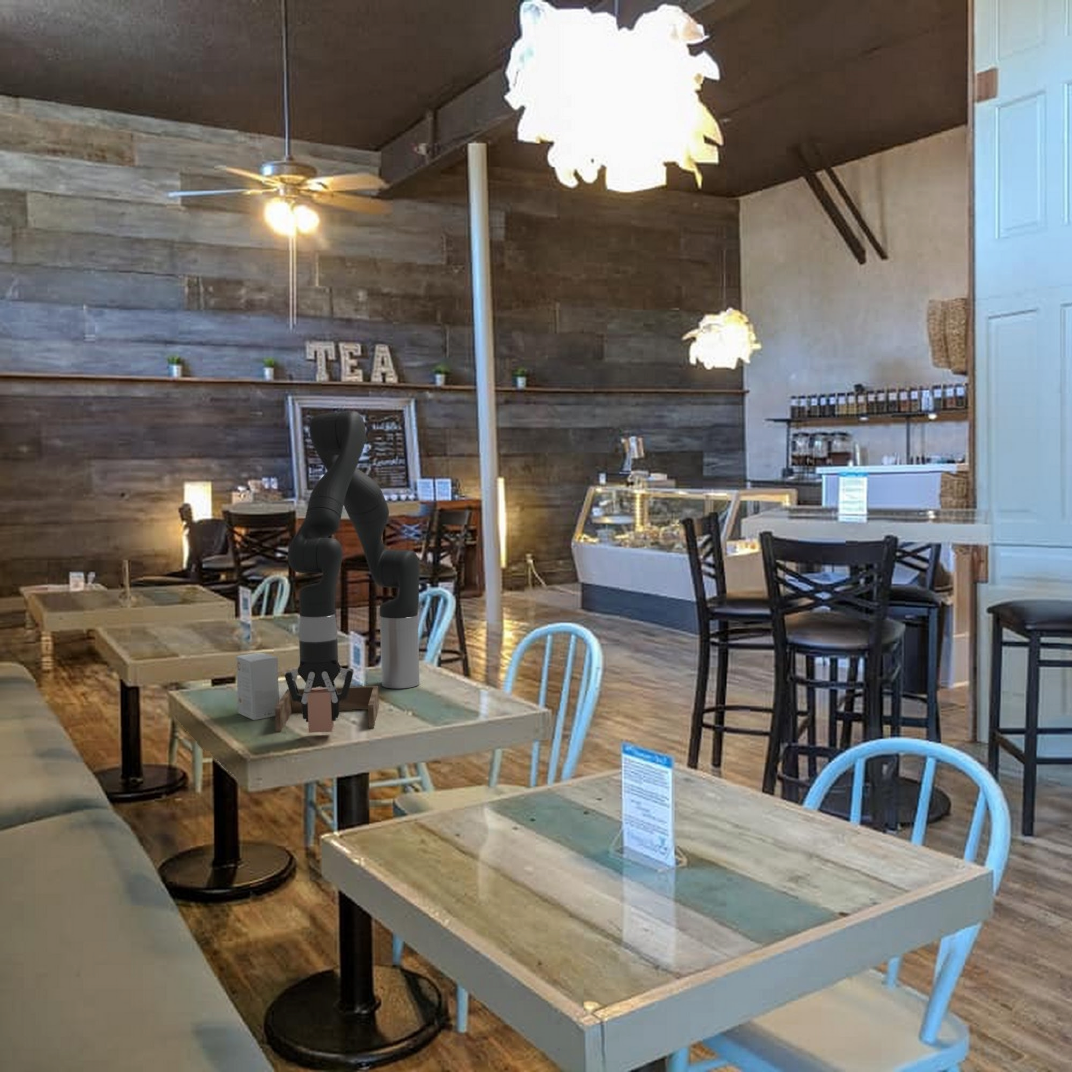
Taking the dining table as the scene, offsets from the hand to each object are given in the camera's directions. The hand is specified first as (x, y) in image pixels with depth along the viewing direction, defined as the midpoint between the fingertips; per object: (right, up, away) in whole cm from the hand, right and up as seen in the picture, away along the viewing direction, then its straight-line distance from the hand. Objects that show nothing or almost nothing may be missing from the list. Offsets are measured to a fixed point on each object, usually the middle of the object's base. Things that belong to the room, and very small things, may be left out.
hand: (320, 720), depth 209 cm
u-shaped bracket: (-1, -2, +13) cm, 13 cm away
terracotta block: (0, -2, 0) cm, 2 cm away
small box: (-18, -2, +19) cm, 26 cm away
